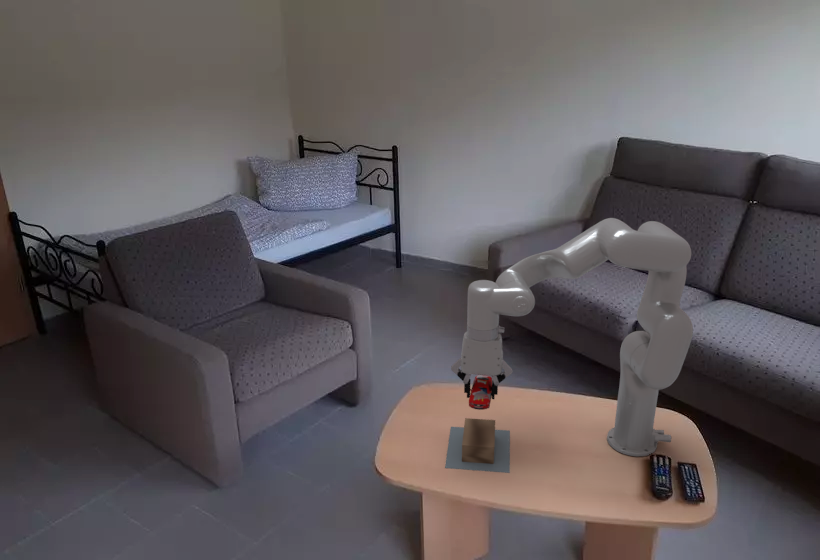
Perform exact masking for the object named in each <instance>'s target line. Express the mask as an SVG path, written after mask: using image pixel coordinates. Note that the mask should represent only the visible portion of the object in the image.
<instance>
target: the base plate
mask: <svg viewBox="0 0 820 560" xmlns="http://www.w3.org/2000/svg"><path fill="white" fill-rule="evenodd" d="M463 433H464V426H462V427H460V426H450V431H449V435H448V436H449V437H448V444H447V451H446V452H447V453H446V459H445V465H444V469H454V470H466V471H479V472H493V473H506V474H507V473H508V474H510V473H511V464H510V463H511V435H510V434H511V432H510V429H509V430H506V429H495V444H494V464H487V463H473V462H462V442H463Z"/></svg>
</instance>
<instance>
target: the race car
mask: <svg viewBox="0 0 820 560" xmlns="http://www.w3.org/2000/svg"><path fill="white" fill-rule="evenodd" d="M492 380H493V379H492V376H491V375H476V376H475V377H474V379H473V383H472V387H471V388H470V397H469V398H468V407H469V408H471V409H473V410H478V411H479V410H480V411H481V410H487V409H490V406H491V401H492Z"/></svg>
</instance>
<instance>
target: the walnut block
mask: <svg viewBox="0 0 820 560" xmlns="http://www.w3.org/2000/svg"><path fill="white" fill-rule="evenodd" d="M463 427H464V433H463V442H462V462H473V463H487V464H494V444H495V430H496V419H486V418H485V419H483V418H469V417H468V418H467V417H465V418H464V426H463Z"/></svg>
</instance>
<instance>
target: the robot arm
mask: <svg viewBox="0 0 820 560" xmlns="http://www.w3.org/2000/svg"><path fill="white" fill-rule="evenodd" d="M691 257H692V249H691V246H690V244H689V242H688V241H687V240H686V239H685V238H684V237H682V236H681V235H679V234H678V233H676V232H675V231H674V230H673V229H671V228H670V227H668V226H666V225H665V224H664V223H662V222H659V221H654V220H651V221H649V220H648V221H646V222H643V223H642V224H640V225H639V227H638V228H637V230H635V229H633V228H632V227H631V226H630V225H628V224H627V223H626V222H624V221H622V220H620V219H618V218H615V217H609V218H605V219H602V220H600V221H599V222H597V223H596V224H593V225H592V226H590V227H589V228H587V229H586V230H584V231H582V232H581V233H579V234H578V235H577V236H575V237H573V238H571V239H570V240H569V241H567V242H565V243H564V244H562V245H560V246H558V247H556V248H554V249H551V250H546V251H543V252H539V253H535V254H532V255H529V256H526V257H525V258H523V259H521V260H518V261H517V262H516V263H515V264H513V265H512V266H510V267H508V268H506V269H505V270H504V271H502V272H501V273H500V274H499V276H498V277H497V279H496V280H495V282H494V281H492V280H487V279H479V280H475V281H472V282H471V283H469V285H468V286H467V308H466V309H467V312H466V313H467V316H466V317H467V319H466V321H467V322H466V323H467V324H466V331H465V332H464V334H463V338H462V344H461V353H460V355H461V356H460V357H459V358H458V359H457V360H456V361H455V362H454V363H453V364H452V365H451V367H450V371H451V372H453V374H455V375H456V376H457V377H458V378H459V379H461V381H462V383H463V384H464V385H463V387H464V389H463V391H464V393H465V394H466V399H469V398H470V393H471V391H470V389H471V380H472V379H471V376H472V375H476V376H478V375H486V376H490V377H491V378H492V396H491V400H495V395H496V396H498V393H499V392H498V391H499V388H498V387H499V385H500V383H501V382H502V381H504V380H505V379H507V377H510V376H511V375H512V374H513V368H512V367H511V366H510V365H509V364H508V363H507V362H506V361H505V360H504V358H503V357H504V351H503V349H504V347H503V339H502V338H503V337H502V333H503V334H504V333H505V327H503V326H500V325H499V323H500V322H499V321H500V315H503V316H509V317H510V316H511V317H523V316H526V315H528V314H529V313H531V312H532V310H534V308H535V304H536V299H535V295H534V293H533V292H532V290H531V287H533V286H535V285H537V284H538V283H540V282H542V281H546V280H549V279H565V280H576V279H577V280H578V279H580V278H581V277H582V276H584V275H586V274H587V273H589V272H590V271H592V270H594V269H595V268H597V267H599V266H601V265H602V264H603V263H605V262H606V261H610V262H611V263H612V264H614V265H616V266H619V267H621V268H627V269H633V270H640V271H648V274H647V275H648V276H647V280H646V283H645V286H644V290H643V293H642V296H641V299H640V303H639V305H638V307H637V311H636V319H637V321H638V322H637V323H639V325H640V326H641V328H642V329H643V330H636V331H633V332H631V333H629V334H628V335H626V336H625V337H624V339H623V340H622V342H621V347H620V349H619V351H620V352H619V359H620V360H619V363H620V376H619V377H620V378H619V386H618V387H619V388H618V392H617V393H618V394H617V402H616V410H615V411H616V412H615V420H614V427H612V428H611V429H609V431H607V435H606V441H607V443H608V445H609V446H610V447H611V448H612V449H613V450H615V451H617V452H619V453H621V454H622V455H626V456H632V457H646V456H649V454H650V455H651V453H652V454H654V453H655V451H656V450H657V446H658V443H659V442H664V443H671V442H672V435H671V434H667V433H665V430H664V429H655V428H654V423H655V418H656V410H657V404H658V403H657V402H658V398H659V397H658V396H659V392H660V390H663V389H666V388H668V387H670V386H672V384H674V382H675V381H676V380H677V379H678V377H679V375H680V373H681V371H682V368H683V364H684V362H685V360H686V356H687V354H688V352H689V348H690V345H691V342H692V340H693V339H692V338H693V334H694V328H693V327H694V326H693V325H694V324H693V323H692V319H691V318H690V316H689V315H688V314H687V313H686V312H685V311H684V310H683V309H682V308H681V306H680V305H681V299H682V296H683V292H684V289H685V285H686V281H687V280H686V279H687V269H688V268H687V265H688V264H689V263H690V260H691V259H692V258H691ZM503 370H504V371H503Z"/></svg>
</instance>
